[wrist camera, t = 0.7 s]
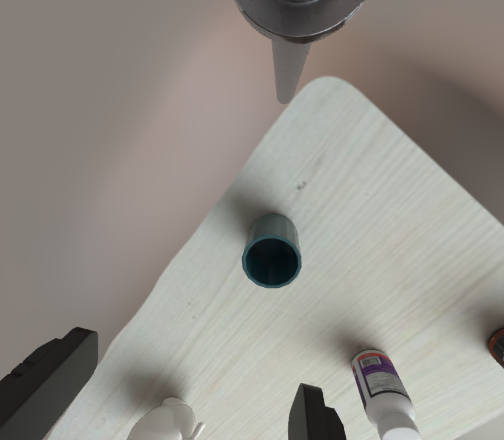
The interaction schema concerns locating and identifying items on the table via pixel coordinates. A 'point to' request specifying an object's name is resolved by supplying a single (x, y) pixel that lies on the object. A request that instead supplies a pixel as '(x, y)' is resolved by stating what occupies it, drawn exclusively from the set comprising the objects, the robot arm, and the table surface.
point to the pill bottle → (384, 396)
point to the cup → (272, 252)
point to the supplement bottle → (497, 347)
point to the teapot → (167, 423)
